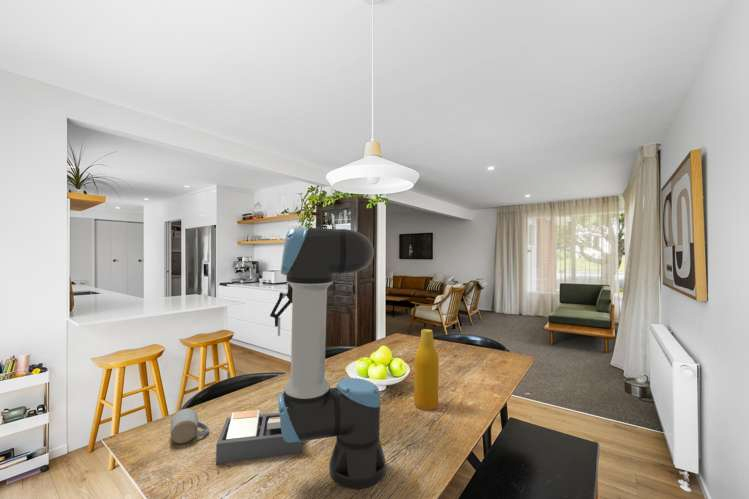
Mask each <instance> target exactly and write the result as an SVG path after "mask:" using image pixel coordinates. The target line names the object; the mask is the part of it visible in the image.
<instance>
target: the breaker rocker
mask: <svg viewBox="0 0 749 499" xmlns="http://www.w3.org/2000/svg"><path fill="white" fill-rule="evenodd" d="M259 415H261V414H260V409H256V410H245V411H244V410H243V411H235V412H232V413H231V416H230V417H231V421H230V425H228V433H227V438H226V440H231V439H240V438H249V437H257V429H258V427H259Z"/></svg>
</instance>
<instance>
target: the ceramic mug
mask: <svg viewBox="0 0 749 499" xmlns="http://www.w3.org/2000/svg"><path fill="white" fill-rule="evenodd" d="M198 429H202V430H203V431H201V430H198ZM209 431H210V428H209V426H208V424H205V423H203V422H201V421H199V416H198V413H197V411H195V410H194V409H192V408H183V409H179V410H178V411H177V412H176V413H174V415H173V416H172V418H171V420H170V437H171V439H172V441H173V442H174V443H176V444H182V445H183V444H186V443H188V442H190V441H192V440H193V439H194V437H201V438H202V437H205V436H207V435H208V434H209Z"/></svg>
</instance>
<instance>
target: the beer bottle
mask: <svg viewBox="0 0 749 499" xmlns="http://www.w3.org/2000/svg"><path fill="white" fill-rule="evenodd" d="M419 341H420V342H419V345H418V348H417V351H416V353H415V356H414V393H413V396H414V397H413V403H414V406H415V407H416V408H417V409H420V410H421V411H434V410H436V409H437V408H438V406H439V364H440V363H439V362H440V361H439V356H438V353H437V351H436V349H435V343H434V333H433V330H432V329H430V328H428V329H427V328H423V329H421V332H420V340H419Z"/></svg>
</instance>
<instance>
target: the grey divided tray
mask: <svg viewBox="0 0 749 499" xmlns="http://www.w3.org/2000/svg"><path fill="white" fill-rule="evenodd" d="M230 421H231V416H229V417H227V418H226V420H225V422H224V424H223V427H222V430H221V432H220V435H219V437H218V439H217V441H216V444H215V445H216V448H215V449H216V450H215V457H216V458H215V464H216V465H220V464H227V463H234V462H235V463H236V462H237V463H238V462H244V461H253V460H259V459H261V460H262V459H269V458H278V457H283V456H291V455H292V456H293V455H300V454H301V455H302V454H303V442H291V443H288V442H286V441H284V439H283V437H282V432H281V424H280V413H279V412H273V413H262V414H259V427H258V429H257V437H249V438H240V439H231V440H226V438H227V433H228V425H230Z"/></svg>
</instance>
